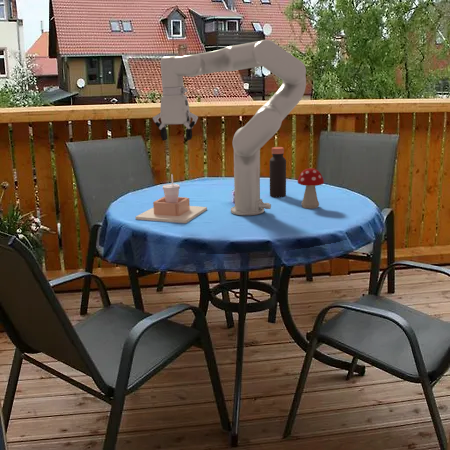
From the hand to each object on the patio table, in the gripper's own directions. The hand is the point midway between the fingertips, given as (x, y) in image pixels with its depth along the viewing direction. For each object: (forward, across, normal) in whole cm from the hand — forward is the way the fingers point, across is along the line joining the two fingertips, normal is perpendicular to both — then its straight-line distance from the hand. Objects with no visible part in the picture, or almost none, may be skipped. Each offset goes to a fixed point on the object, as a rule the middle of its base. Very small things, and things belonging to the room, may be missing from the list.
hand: (176, 139), depth 219 cm
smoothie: (+26, +2, +4) cm, 27 cm away
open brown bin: (+27, +3, +4) cm, 28 cm away
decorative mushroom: (+29, -45, -19) cm, 57 cm away
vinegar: (+29, -29, -34) cm, 53 cm away
